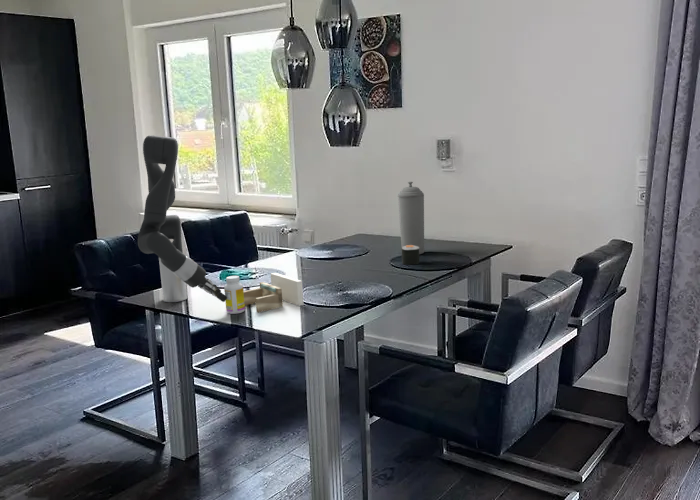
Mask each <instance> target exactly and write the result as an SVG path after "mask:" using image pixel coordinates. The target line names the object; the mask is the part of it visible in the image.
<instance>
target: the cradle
mask: <svg viewBox="0 0 700 500" xmlns="http://www.w3.org/2000/svg"><path fill="white" fill-rule="evenodd" d="M243 292H244V302H245V306H247V305H253V304H255V307H256V308H255V311H256V313H262V312H267V311H272V310H276V309H279V308H283V307H284V305H283V300H282V288H279V287H276V286H273V285H271V283H267V282H264V281H262V282H259V287H256V288H253V289H248V290H243Z"/></svg>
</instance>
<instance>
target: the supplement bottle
mask: <svg viewBox="0 0 700 500" xmlns="http://www.w3.org/2000/svg"><path fill="white" fill-rule="evenodd" d="M225 280H226V284H225V285H224V287H223V289H224V295H225V296H226V297H227V299H226V300H225V308H226V309H225V311H226V313H227V314H230V315H235V314H241V313H244V312H245V310H246V305H245V302H244V292H243V291H244V285H243V284H242V282H240V276H239V275H230V276H227V277H226V278H225Z"/></svg>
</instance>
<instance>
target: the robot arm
mask: <svg viewBox="0 0 700 500" xmlns="http://www.w3.org/2000/svg"><path fill="white" fill-rule="evenodd" d="M178 144H179V143H178V141H177V139H176V138H175V137H169V136H161V135H148V136H146V137H145V138H144V139H143V143H142V154H143V158H144V159H143V160H144V164H145V169H146V175H147V190H148V191H147V192H148V194H147V196H146V199H145V204H144V211H143V212H144V214H143V221H142V223H141V225H140V229H139V233H138V236H137V246H138V249H139V250H140V252H142V253H143V254H147V255H149V254H155V255H156V256H157V257H158V261H159V262H158V263H159V272H160V280H161V281H160V283H161V292H162V301H163V302H166V303H177V302H182V301H185V300H187V299H188V290H187V289H188V288H187V285H188V286H189V287H190V288H196V287H198V288H199V289H201V290H203V291H205V292H206V293H208V294H210V295H212V296H214V297H215V298H217V299H218V301H220V302H222V303H224V302H225V303H226V301H225V300H226V299H227V297H226V296H225V293H223V292H222V290H221V288H219V287H218V285H217V284H215V283H214V282H212V280H211V279H209V278H207V277H206V275H207V271H206V269H204V268H203V267H202V266H201V265H199V264H198V263H197V262H195V261H194V259H192V258H190V257H189V256H187V255H185V253H184V252H183V241H182V224H181V218H180V217H179V215H177V214H171V215H170V214H169V215H167V211H168V210H169V209H170V208H171V207H172V206H173V203H174V202H175V200H176V186H175V183H174V180H173V179H174V173H175V170H176V165H177V162H178V154H179V145H178ZM161 165H165V167H164V168H162V166H161ZM171 240H172V241H171Z"/></svg>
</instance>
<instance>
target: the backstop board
mask: <svg viewBox="0 0 700 500" xmlns="http://www.w3.org/2000/svg"><path fill="white" fill-rule="evenodd" d="M270 285H273V286H276V287H279V288H282V301H285V302H288V303H290V304H293V305H296V306H304V292H303V291H304V290H303V281H302V280H300V279H297V278H293V277H291V276H287V275H284V274H281V273H277V272H272V273H270Z"/></svg>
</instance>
